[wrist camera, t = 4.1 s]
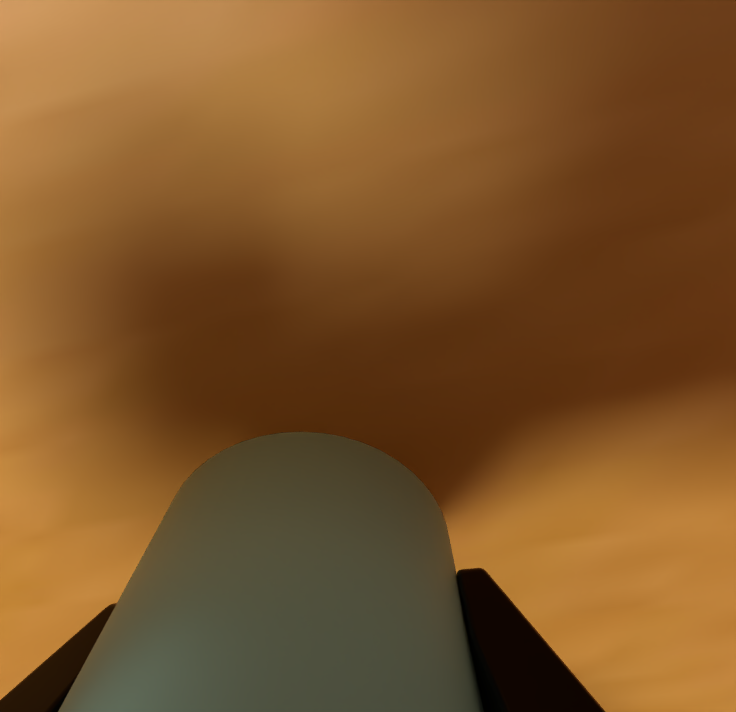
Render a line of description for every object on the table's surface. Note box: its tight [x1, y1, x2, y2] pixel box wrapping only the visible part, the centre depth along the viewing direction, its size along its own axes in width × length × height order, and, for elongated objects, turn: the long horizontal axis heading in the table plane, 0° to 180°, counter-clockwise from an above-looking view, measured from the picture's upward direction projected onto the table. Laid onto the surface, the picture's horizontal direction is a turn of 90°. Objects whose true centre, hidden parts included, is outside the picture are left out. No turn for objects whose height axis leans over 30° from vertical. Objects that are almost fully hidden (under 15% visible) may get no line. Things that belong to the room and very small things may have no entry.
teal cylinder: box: [58, 432, 484, 712], centre depth 7 cm, size 5×5×6 cm
